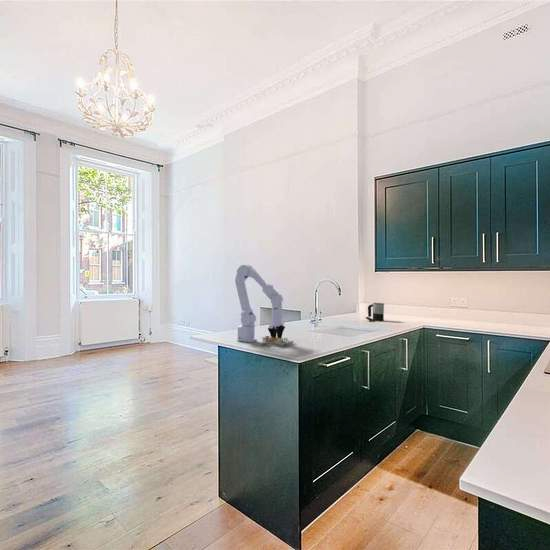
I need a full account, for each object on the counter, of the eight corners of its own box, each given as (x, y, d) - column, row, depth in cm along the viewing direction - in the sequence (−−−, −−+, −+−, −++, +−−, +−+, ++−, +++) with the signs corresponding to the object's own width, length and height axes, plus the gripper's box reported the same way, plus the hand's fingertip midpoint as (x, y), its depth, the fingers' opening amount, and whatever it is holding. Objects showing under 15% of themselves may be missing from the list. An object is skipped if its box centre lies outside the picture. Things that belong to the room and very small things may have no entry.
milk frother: (384, 320, 303) (384, 303, 302) (382, 322, 288) (382, 304, 288) (367, 319, 308) (367, 302, 308) (364, 321, 293) (365, 303, 293)
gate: (265, 341, 199) (265, 336, 199) (266, 341, 200) (266, 335, 200) (281, 343, 194) (282, 338, 194) (283, 343, 195) (283, 337, 195)
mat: (260, 345, 194) (260, 344, 194) (268, 340, 209) (268, 339, 209) (287, 347, 190) (287, 346, 190) (293, 341, 205) (293, 341, 205)
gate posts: (261, 345, 193) (261, 338, 193) (262, 344, 196) (262, 337, 196) (287, 346, 192) (287, 338, 192) (287, 345, 195) (287, 337, 195)
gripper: (277, 317, 194) (276, 342, 194) (288, 314, 206) (288, 338, 206) (265, 316, 197) (265, 341, 197) (278, 314, 210) (277, 337, 210)
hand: (276, 339), depth 202 cm, fingers open, 6 cm apart
